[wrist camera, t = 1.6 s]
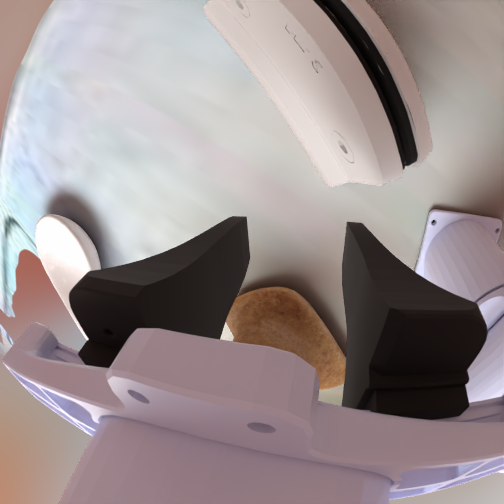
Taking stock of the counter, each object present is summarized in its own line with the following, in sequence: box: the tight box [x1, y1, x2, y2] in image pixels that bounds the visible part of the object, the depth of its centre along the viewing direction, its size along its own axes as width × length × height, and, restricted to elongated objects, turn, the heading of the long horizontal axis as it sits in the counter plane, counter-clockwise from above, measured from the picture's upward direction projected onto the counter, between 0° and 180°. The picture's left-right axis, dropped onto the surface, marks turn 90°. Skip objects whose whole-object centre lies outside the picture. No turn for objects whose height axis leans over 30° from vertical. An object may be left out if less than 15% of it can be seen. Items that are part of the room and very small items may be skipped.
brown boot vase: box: [226, 287, 346, 390], centre depth 24 cm, size 15×12×15 cm
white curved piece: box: [204, 0, 432, 187], centre depth 13 cm, size 17×5×10 cm, turn 35°
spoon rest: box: [35, 214, 101, 340], centre depth 31 cm, size 24×12×7 cm, turn 26°
